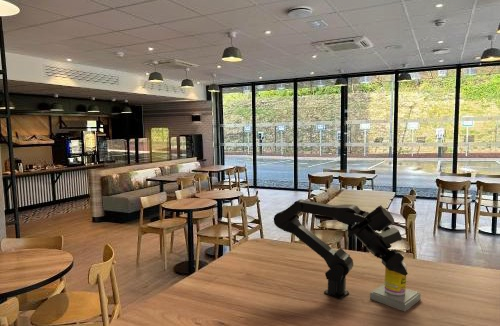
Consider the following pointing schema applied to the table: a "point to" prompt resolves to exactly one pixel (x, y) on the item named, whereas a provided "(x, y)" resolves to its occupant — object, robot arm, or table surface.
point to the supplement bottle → (395, 282)
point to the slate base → (395, 298)
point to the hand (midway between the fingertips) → (400, 269)
